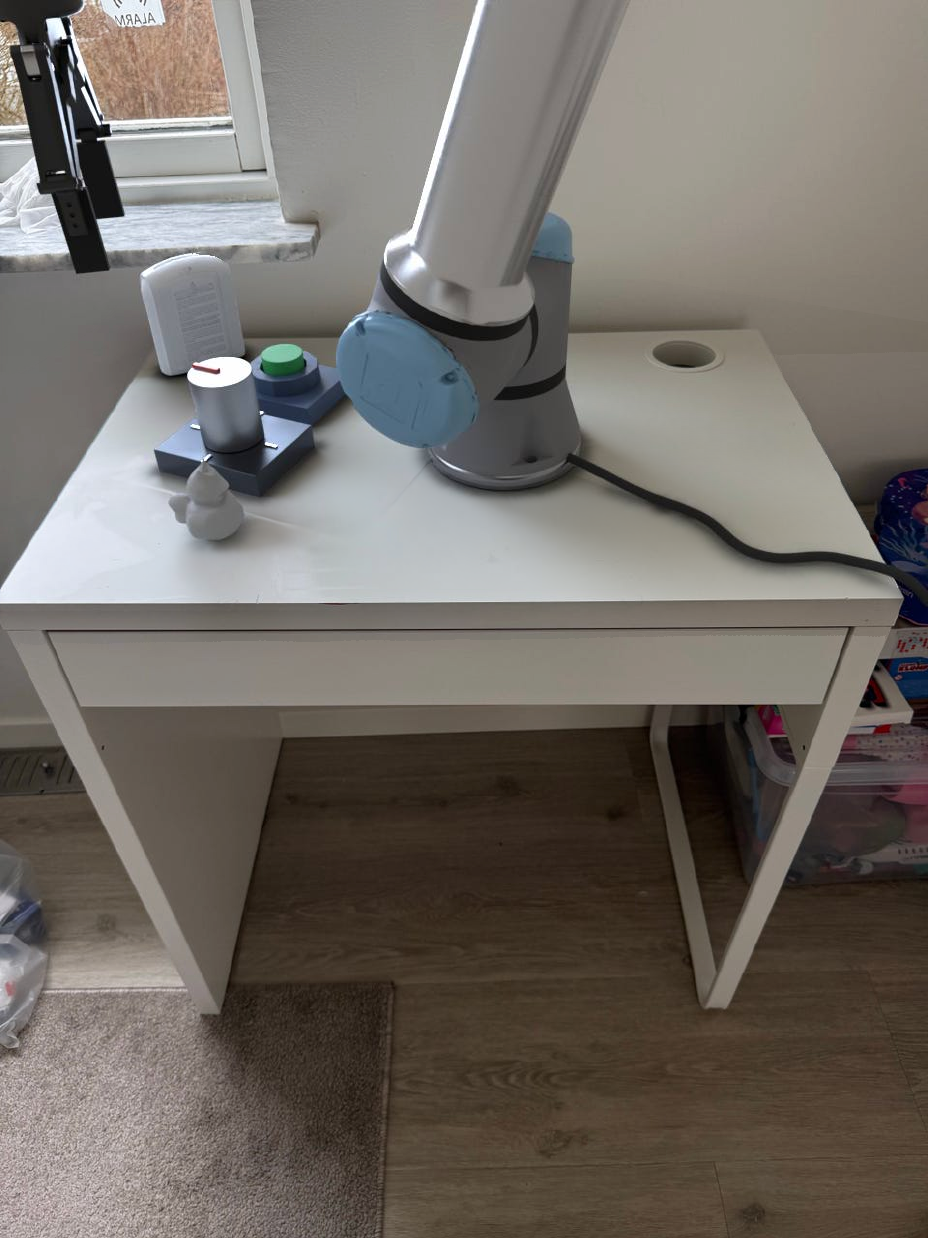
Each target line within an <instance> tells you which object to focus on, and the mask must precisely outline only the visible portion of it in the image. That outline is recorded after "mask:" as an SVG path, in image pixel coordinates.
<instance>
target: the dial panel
mask: <svg viewBox="0 0 928 1238" xmlns="http://www.w3.org/2000/svg"><path fill="white" fill-rule="evenodd" d="M260 414H261V419H262V424H263V429H264V436H263V438H262V440H261V441H260V442H259V443H258V444H256V445H255V446H253V447H251V448H249V449H246V450H243V451H239V452H231V453H223V452H216V451H213V450H210V449H209V448H207V447H206V446H205V445H204V443H203V440H202V436H201V432H200V428H199V423H198V419H197V415H196V416H194V418H192V419H191V420H190V421H188V422H187V423H186V424H184V425H183V426H182V427H181V428H179V429H178V430H176V431H175V432H174V433H173V434H172V435H170V436H169V437H168V438H166V440H164V441H163V442H161V443H160V444H159V445H157V446H156V447H155V448H154V449H153V453H154V457H155V460H156V464H157V467H158V470H159V472H163V473H166V474H170V475H175V476H178V477H180V478H185V479H187V480H188V479H189V477H190V475H191V474H192V473H193V472H194V471H195V470H196V469H197V468H198V467H199V466H200V465H201V463H202V460H203V458H204V459H205V462H206V463H207V464H209V465H210V466H211V467H213V468H214V469H215V470H216V471H217V472H218V473H219V474H220V475H221V476H222V477H223V478H224V479H225V480H226V481H227V482H228V484H229V488H228V490H229V491H234V492H238V493H242V494H245V495H248V496H253V497H257V498H261V497H262V496H264V494H266V493H267V492H268V491H269V490H270V489H271V488H272V487H273V486H274V485H275V484H276V483H277V482H278V481H280V480H281V479H282V478H283V477H284V476H285V475H286V474H287V473H288V472H289V471H290V470H291V469H292V468H293V467H294V466H296V465H297V464H298V463H299V462H300V461H301V460H302V459H303V458H304V457H305V456H306V455H308V453H309V452H311V450H313V449H314V448H315V438H314V431H313V425H308V424H304V423H299V422H295V421H291V420H286V419H282V418H278V417H274V416H269V415H265V414H264V412H262V411H261V412H260Z"/></svg>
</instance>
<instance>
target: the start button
mask: <svg viewBox="0 0 928 1238" xmlns="http://www.w3.org/2000/svg"><path fill="white" fill-rule="evenodd" d="M302 351H303V349H302V348H301V347H300V346H299V345H296V344H291V343H278V344H274V345H270V346H268V347H266V348H265V349H263V350H262V351H261V353H260V355H261V359H262V365H263V370H264V372H265V374H268V375H273V376H287V375H291V374H294V373H297V372H300V371H301V370H302V369H304V359H303V352H302Z"/></svg>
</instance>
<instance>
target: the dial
mask: <svg viewBox="0 0 928 1238" xmlns="http://www.w3.org/2000/svg"><path fill="white" fill-rule="evenodd" d="M192 367H193V368H191V369H190V371H189V372H187V376H186V377H187V381H188V385H189V390H190V394H191V398H192V403H193V407H194V411H195V415H196V416H197V419H198V423H199V428H200V432H201V436H202V440H203V443H204V445H205V446H206V447H207V448H209V449H210V450H213V451H216V452H223V453H231V452H239V451H243V450H246V449H249V448H251V447H253V446H255V445H256V444H258V443H259V442H260V441H261V440H262V438H263V436H264V429H263V424H262V419H261V414H260V408H259V403H258V398H257V392H256V387H255V382H254V376H253V371H252V367H251V365H250V362H248V360H245V359H242V358H240V357H239V358H232V357H222V358H214V359H210V360H206V361H203V362H201V363H197V362H195V363H194V364H192Z"/></svg>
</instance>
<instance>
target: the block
mask: <svg viewBox="0 0 928 1238" xmlns="http://www.w3.org/2000/svg"><path fill="white" fill-rule="evenodd" d="M302 352H303V359H304V369H302V370H301V371H300V372H297V373H294V374H291V375H287V376H273V375H268V374H265V372H264V370H263V365H262V359H261V354H260V355H259V356H257V357H256V358H255V359H253V360H252V361H251V362H249V364H250V365H251V367H252V371H253V376H254V382H255V387H256V392H257V398H258V403H259V408H260V412H261V411H262V412H264V414H265V415H269V416H274V417H278V418H282V419H286V420H291V421H295V422H299V423H304V424H308V425H312V426H313V425H314V424H315V423H317V422H318V421H319V420H320V419H321V418H322V417H323V416H324V415H325V414H326V413H327V412H329V410H331V409H332V408H333V407H334V406H335V405H336V404H337V403H338V402H339V401H341V399H343V398H344V397H345V396H347V395H346V394H345V392H344V390H343V387H342V385H341V382H340V379H339V376H338V372H337V367H334V366H333V367H332V366H328V365H323V364H319V358H317V357H316V356H315V355H313V354H312V353H311V352H310V351H306V350H302Z"/></svg>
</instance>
